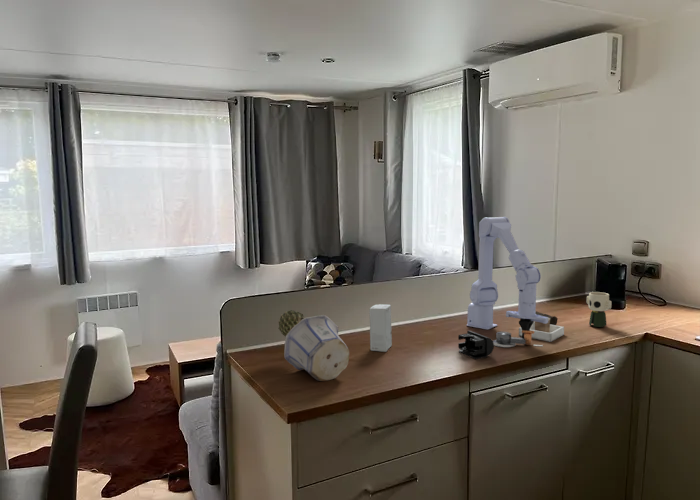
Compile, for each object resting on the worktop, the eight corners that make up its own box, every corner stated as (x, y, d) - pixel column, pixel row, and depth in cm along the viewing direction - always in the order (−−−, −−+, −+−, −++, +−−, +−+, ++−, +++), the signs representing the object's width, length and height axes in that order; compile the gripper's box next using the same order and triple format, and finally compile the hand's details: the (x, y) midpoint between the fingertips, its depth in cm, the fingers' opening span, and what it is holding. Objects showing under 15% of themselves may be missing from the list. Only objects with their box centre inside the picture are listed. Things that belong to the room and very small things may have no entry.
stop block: (534, 334, 196) (534, 318, 196) (538, 332, 200) (539, 316, 199) (545, 336, 194) (545, 320, 193) (549, 334, 197) (550, 318, 196)
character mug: (579, 324, 211) (580, 292, 210) (592, 322, 215) (593, 290, 213) (603, 330, 202) (605, 297, 200) (616, 328, 205) (617, 295, 203)
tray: (518, 335, 196) (518, 327, 196) (532, 329, 205) (532, 321, 205) (550, 341, 188) (551, 333, 188) (563, 334, 197) (564, 326, 197)
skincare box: (386, 352, 179) (386, 309, 178) (369, 351, 181) (368, 308, 179) (392, 345, 187) (392, 303, 185) (375, 344, 189) (375, 302, 187)
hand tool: (558, 325, 211) (558, 314, 210) (549, 326, 209) (550, 315, 209) (526, 315, 228) (527, 304, 228) (519, 316, 227) (519, 305, 226)
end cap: (494, 356, 173) (494, 336, 173) (476, 360, 170) (476, 339, 170) (474, 348, 182) (474, 329, 182) (457, 351, 179) (457, 332, 178)
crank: (495, 343, 185) (496, 330, 184) (496, 339, 190) (496, 326, 189) (534, 346, 181) (534, 332, 181) (533, 341, 186) (534, 329, 185)
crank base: (492, 346, 184) (492, 345, 184) (491, 340, 191) (491, 338, 191) (544, 349, 180) (544, 347, 180) (541, 342, 188) (541, 341, 188)
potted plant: (361, 329, 154) (312, 289, 177) (305, 343, 145) (262, 298, 168) (356, 381, 160) (309, 335, 183) (302, 397, 151) (261, 347, 174)
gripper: (502, 300, 187) (501, 338, 189) (542, 307, 177) (541, 346, 179) (511, 297, 192) (510, 334, 194) (551, 303, 183) (549, 342, 184)
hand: (525, 339), depth 187 cm, fingers closed, pressing on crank
